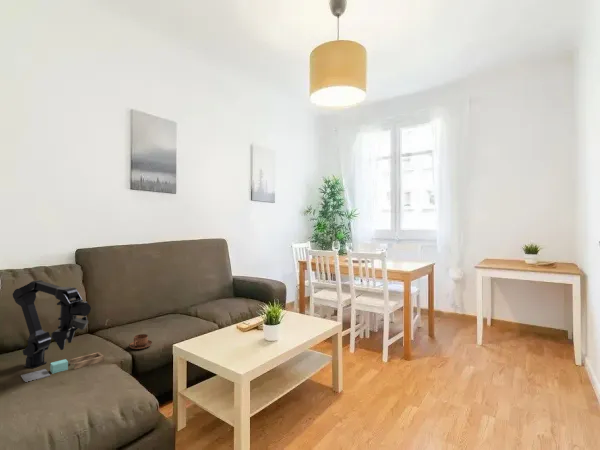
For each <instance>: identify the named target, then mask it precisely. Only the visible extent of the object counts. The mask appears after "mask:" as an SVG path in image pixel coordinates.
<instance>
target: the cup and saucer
mask: <svg viewBox="0 0 600 450" xmlns="http://www.w3.org/2000/svg"><path fill="white" fill-rule="evenodd" d="M148 337H149V335H148V334H145V333H144V334H137V335H134V336H133V341H132V342H130V343H129V344H128V347H129V348H131V349H133V350H143V349H146V348H149V347H151V346H152V345H153V344H152V343H153V341H152V340H149V339H148Z"/></svg>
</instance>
